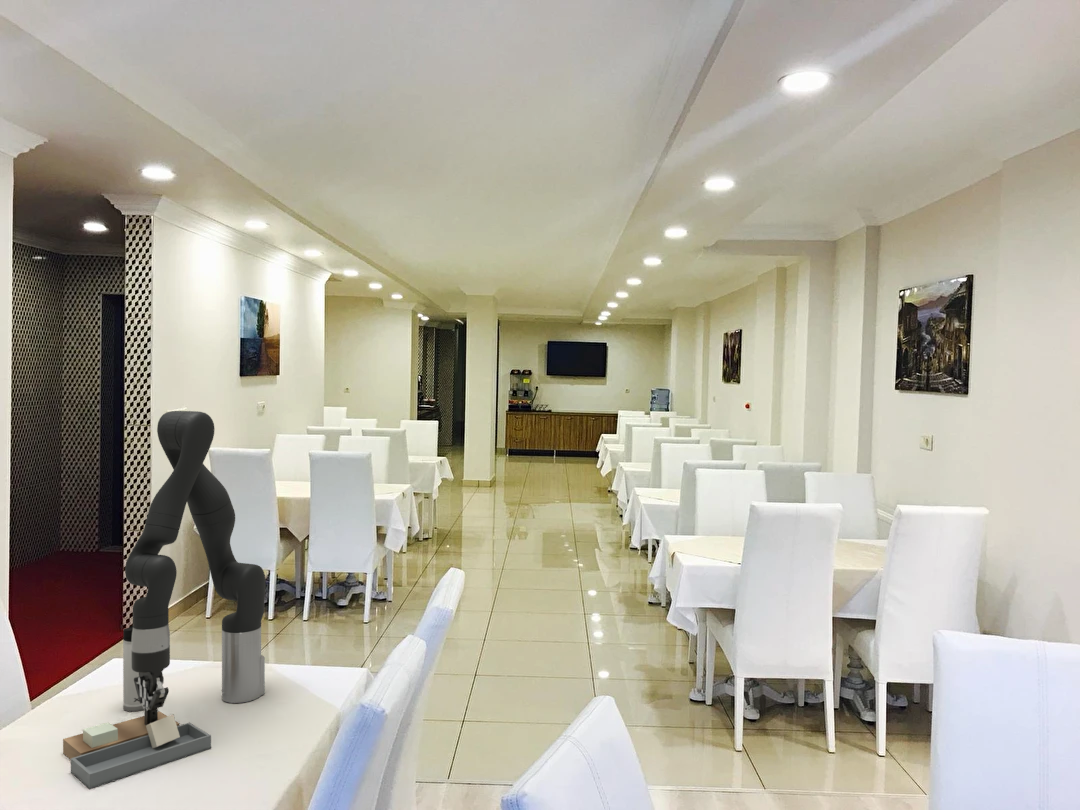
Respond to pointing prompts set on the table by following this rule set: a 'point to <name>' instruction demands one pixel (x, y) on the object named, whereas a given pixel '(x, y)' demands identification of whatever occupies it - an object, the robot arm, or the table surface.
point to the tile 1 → (100, 734)
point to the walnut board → (125, 733)
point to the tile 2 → (162, 731)
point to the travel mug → (129, 675)
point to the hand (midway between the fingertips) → (150, 725)
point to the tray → (137, 756)
